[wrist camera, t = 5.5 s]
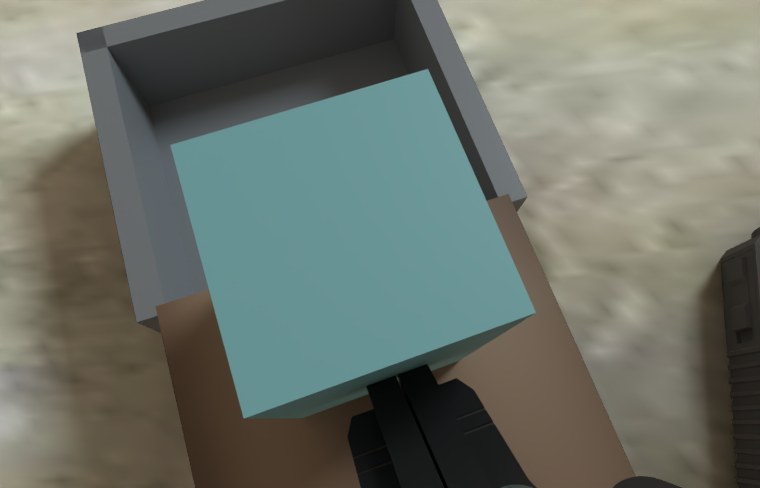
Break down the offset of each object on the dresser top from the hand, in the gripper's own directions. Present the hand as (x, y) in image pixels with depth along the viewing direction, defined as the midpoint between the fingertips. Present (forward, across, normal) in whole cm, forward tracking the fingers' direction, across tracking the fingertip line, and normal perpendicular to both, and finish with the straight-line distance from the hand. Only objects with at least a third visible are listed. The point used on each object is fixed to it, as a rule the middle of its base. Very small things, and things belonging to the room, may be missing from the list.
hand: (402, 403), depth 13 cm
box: (+15, 0, -1) cm, 15 cm away
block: (+5, 0, 0) cm, 5 cm away
